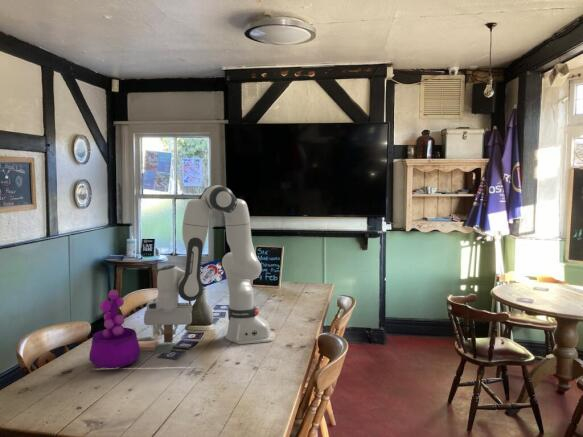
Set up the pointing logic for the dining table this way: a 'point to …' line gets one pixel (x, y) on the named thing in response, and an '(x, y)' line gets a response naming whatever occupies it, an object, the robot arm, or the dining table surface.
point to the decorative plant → (114, 338)
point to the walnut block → (168, 333)
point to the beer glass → (156, 332)
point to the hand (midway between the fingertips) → (168, 334)
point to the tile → (148, 345)
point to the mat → (160, 348)
